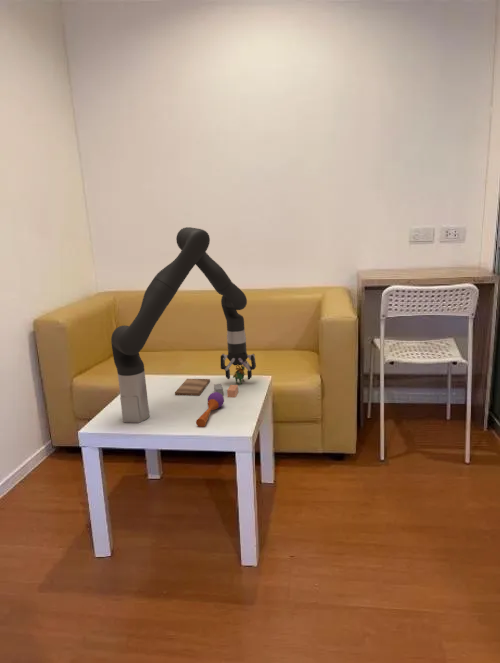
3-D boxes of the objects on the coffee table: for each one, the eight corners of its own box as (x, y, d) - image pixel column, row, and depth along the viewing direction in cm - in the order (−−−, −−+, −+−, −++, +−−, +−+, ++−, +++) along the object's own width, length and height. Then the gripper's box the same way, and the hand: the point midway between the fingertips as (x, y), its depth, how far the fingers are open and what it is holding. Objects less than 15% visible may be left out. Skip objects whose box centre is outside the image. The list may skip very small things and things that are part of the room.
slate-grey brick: (223, 396, 202) (222, 388, 201) (215, 396, 201) (215, 389, 200) (221, 390, 207) (221, 383, 207) (214, 391, 207) (213, 384, 206)
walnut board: (199, 395, 203) (199, 392, 202) (175, 395, 205) (174, 392, 204) (210, 381, 218) (209, 378, 218) (187, 381, 220) (186, 378, 220)
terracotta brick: (235, 397, 199) (234, 390, 198) (227, 397, 200) (227, 390, 199) (238, 392, 205) (237, 385, 204) (230, 392, 205) (230, 384, 204)
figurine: (248, 379, 218) (247, 360, 216) (236, 389, 208) (235, 369, 206) (241, 378, 219) (240, 360, 217) (229, 388, 209) (228, 369, 207)
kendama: (190, 416, 174) (208, 390, 192) (195, 431, 176) (213, 404, 194) (206, 414, 172) (223, 388, 191) (211, 429, 174) (227, 402, 192)
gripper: (217, 343, 207) (220, 381, 211) (252, 343, 204) (254, 382, 208) (221, 338, 214) (224, 375, 218) (255, 338, 211) (257, 375, 215)
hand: (239, 378), depth 213 cm, fingers open, 8 cm apart
